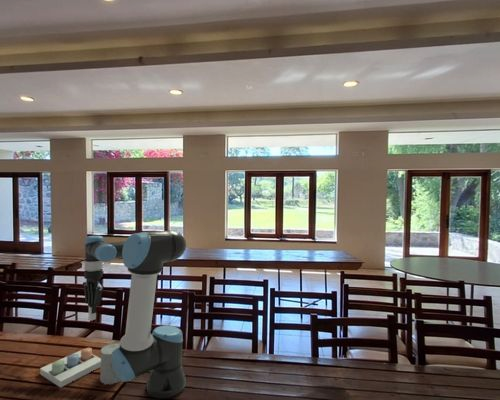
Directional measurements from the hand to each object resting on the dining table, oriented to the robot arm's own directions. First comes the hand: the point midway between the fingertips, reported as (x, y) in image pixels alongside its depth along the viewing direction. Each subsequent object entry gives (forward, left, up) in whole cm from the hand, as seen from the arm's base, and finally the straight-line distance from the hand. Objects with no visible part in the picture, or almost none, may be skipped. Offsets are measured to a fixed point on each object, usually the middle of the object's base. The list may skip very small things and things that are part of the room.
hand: (92, 319), depth 135 cm
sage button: (-2, +15, -17) cm, 23 cm away
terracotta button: (-2, +3, -17) cm, 17 cm away
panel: (-2, +10, -18) cm, 21 cm away
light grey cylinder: (-21, +4, -18) cm, 28 cm away
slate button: (-2, +10, -17) cm, 19 cm away
